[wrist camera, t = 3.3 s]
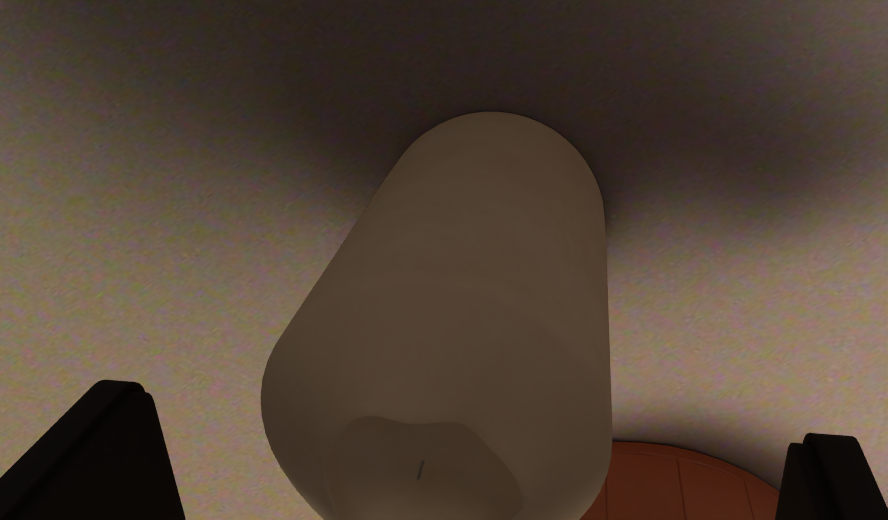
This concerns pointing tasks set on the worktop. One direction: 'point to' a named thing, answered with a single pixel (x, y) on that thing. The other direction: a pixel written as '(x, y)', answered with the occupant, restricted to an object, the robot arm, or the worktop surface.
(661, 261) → the worktop surface
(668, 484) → the pot cup
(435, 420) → the candle
